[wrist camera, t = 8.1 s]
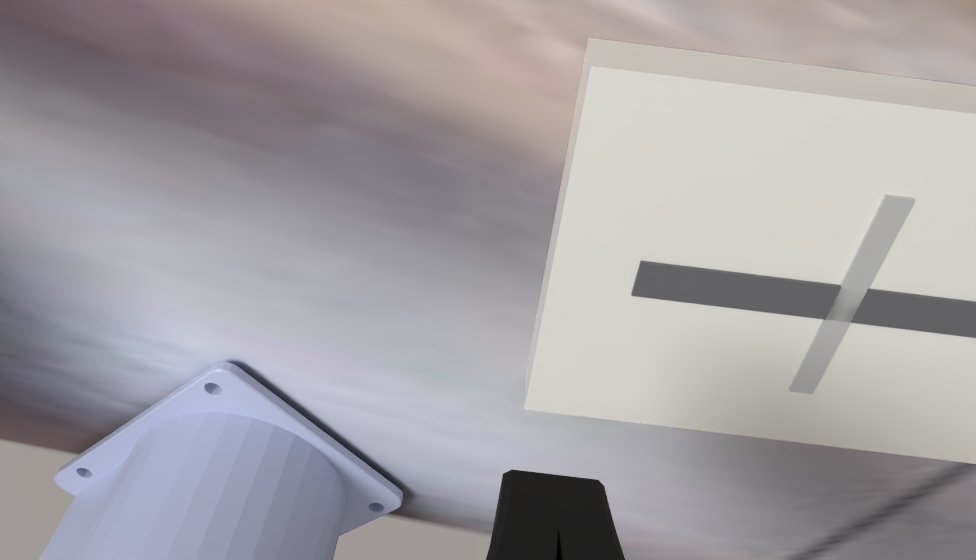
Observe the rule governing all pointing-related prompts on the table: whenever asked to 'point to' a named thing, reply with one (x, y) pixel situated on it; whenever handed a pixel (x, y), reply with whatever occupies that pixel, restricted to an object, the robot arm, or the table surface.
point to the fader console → (764, 254)
